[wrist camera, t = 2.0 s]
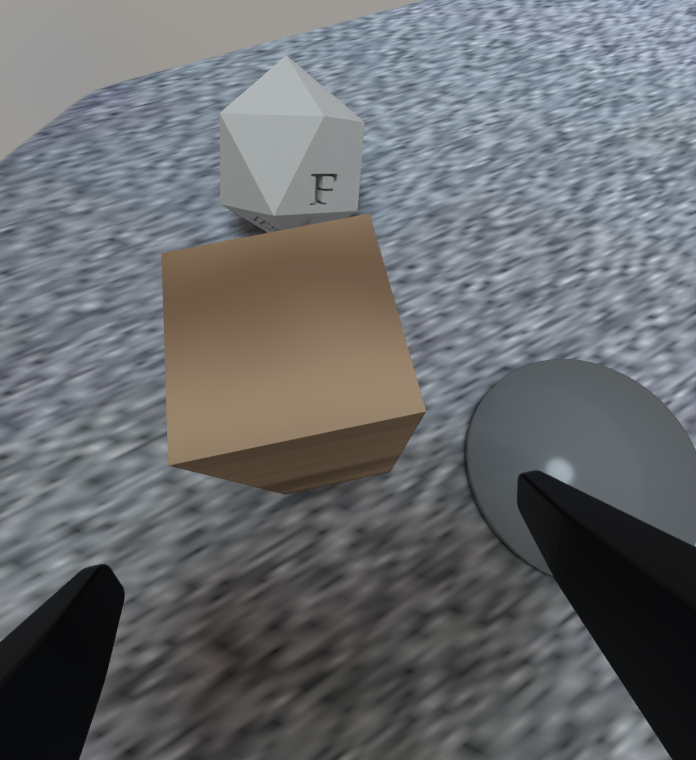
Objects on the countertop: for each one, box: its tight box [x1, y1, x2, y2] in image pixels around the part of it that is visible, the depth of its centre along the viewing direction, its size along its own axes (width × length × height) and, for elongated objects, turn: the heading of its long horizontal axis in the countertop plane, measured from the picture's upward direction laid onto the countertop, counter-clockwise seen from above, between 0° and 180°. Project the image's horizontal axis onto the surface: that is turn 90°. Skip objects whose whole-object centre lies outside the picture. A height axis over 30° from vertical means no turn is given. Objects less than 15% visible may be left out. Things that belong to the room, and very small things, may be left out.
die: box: [220, 56, 365, 233], centre depth 22 cm, size 8×9×10 cm
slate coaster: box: [465, 359, 696, 577], centre depth 18 cm, size 11×11×1 cm
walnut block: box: [162, 213, 426, 494], centre depth 14 cm, size 6×6×12 cm
